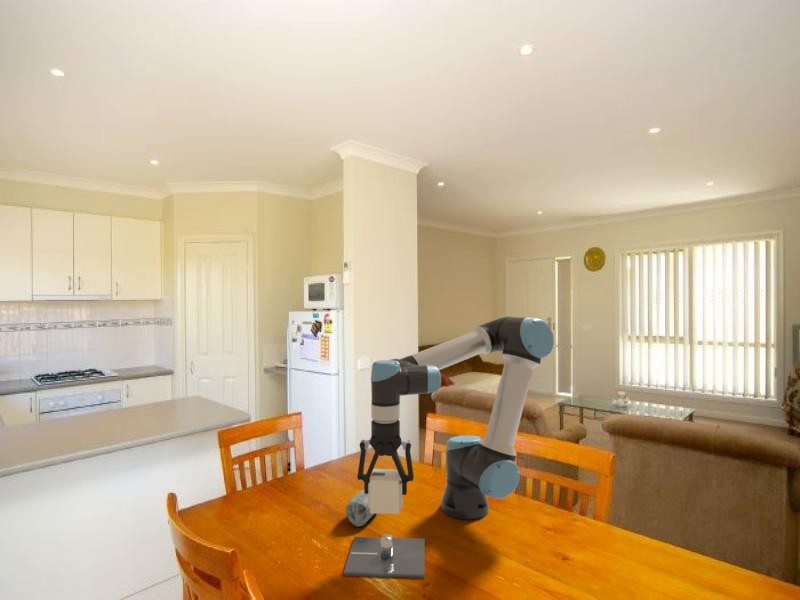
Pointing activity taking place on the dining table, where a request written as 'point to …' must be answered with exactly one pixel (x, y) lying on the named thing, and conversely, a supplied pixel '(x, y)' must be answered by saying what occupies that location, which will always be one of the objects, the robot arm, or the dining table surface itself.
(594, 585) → the dining table surface
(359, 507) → the spool
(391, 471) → the white drawer box
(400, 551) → the gray board
